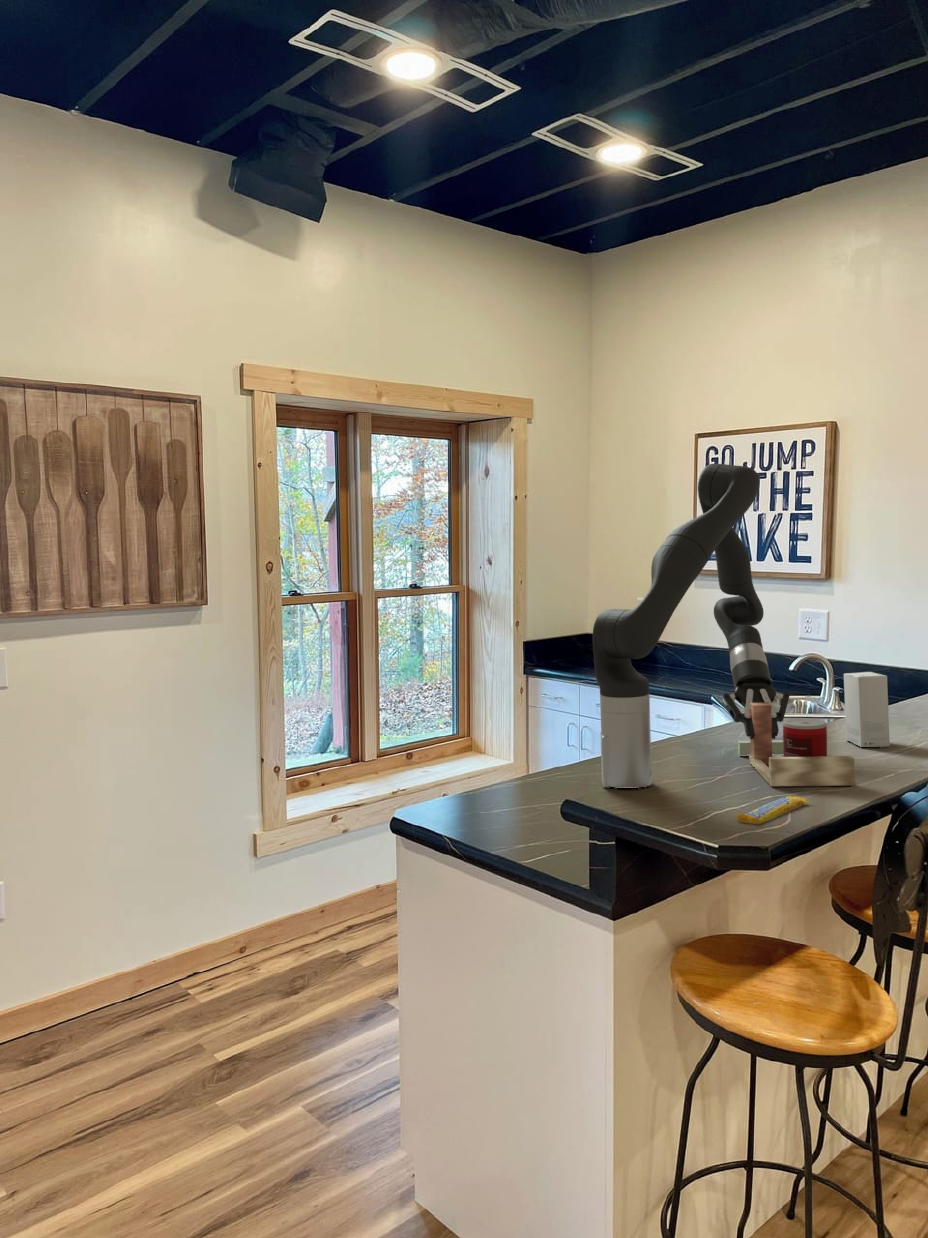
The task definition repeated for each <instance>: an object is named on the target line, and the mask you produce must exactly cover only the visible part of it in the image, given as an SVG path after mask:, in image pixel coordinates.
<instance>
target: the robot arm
mask: <svg viewBox="0 0 928 1238" xmlns="http://www.w3.org/2000/svg"><path fill="white" fill-rule="evenodd" d="M759 476H760V475H759V474H758V473H757V471H756V470H755V469H753V468H751V467H748V466H743V465H736V464H735V465H734V464H733V465H732V464H726V463H725V464H724V463H710V464H708V465H706V466H705V467H704V468H703V469H702V471H701V472H700V475H699V477H698V482H697V494H698V500H699V505H700V507H701V511H702V514H701V515H698V516H697V517H694V518H692V519H690V520H689V521H686V522H685V523H683V524H681V525H680V526H678V527H677V528H675V529H674V530H672V531H671V532H670V533H669V535H668V536H667V537H666V538H665V540H664V541H663V543H662V544H661V545H660V546H659V548H658V549H657V551H656V552H655V554H654V555H653V558H652V560H651V561H652V562H651V570H650V571H651V585H650V588H649V590H648V592H647V593H646V595H645V596H644V597H643V598H642V600H641V601H640V602H639V604H637V605H636V607H634V608H633V609H626V608H625V609H622V608H617V609H616V608H610V609H605V610H603V611H602V612H600V613H599V614H598V616H597V617H596V619H595V621H594V624H593V627H592V628H593V629H592V651H593V664H594V675H595V679H596V682H597V684H598V688H599V698H600V699H599V702H600V703H599V704H600V708H599V709H600V730H601V731H600V756H601V757H600V758H601V759H600V760H601V761H600V762H601V783H602V787H603V788H607V787H606V786H613V787H633V788H634V787H636V788H637V787H644V788H647V786H648V787H649V786H651V785H652V783H653V782H652V775H653V771H652V745H651V744H652V743H651V742H652V740H651V739H652V738H651V737H652V736H651V706H650V705H651V704H650V703H651V701H650V699H651V697H650V683H649V680H648V678H647V677H646V676H645V675H642V674H641V673H640V672H638V671H637V670H636V668H635V667H634V666H633V665H632V660H639V659H640V660H641V659H643V658H646V656H648V655H650V653H651V652H652V651H654V649H655V647H656V645H657V644H658V642H659V640H660V639H661V637H662V635H663V632H664V631H665V629H666V627H667V625H668V624H669V621H670V619H671V618H672V616H673V614H674V612H675V611H676V608H677V607H678V605H679V604H680V602H682V600H683V597H685V594H686V593H687V592H688V590H689V589H690V587H691V586H692V584H693V583H694V582H695V580H696V579H697V577H699V575H700V574H701V572H702V570H704V568H705V566H706V565H707V564H708V561H709V560H710V559H711V557H712V556H713V554H714V555H715V562H716V569H717V570H716V571H717V578H718V585H719V589H720V591H721V592H722V593H724V594H726V595H728V596H729V595H730V597H723V598H720V599H718V600H717V601H716V602H715V604H714V607H713V616H714V620H715V621H716V623H717V625H718V627H719V628H720V630H721V631H722V634H723V635H724V638H725V639H726V642H727V646H728V652H729V653H728V654H729V658H730V659H729V664H730V671H731V672H730V673H731V676H732V682H733V686H734V691H733V693H731V694H729V693H726V692H725V693H723V696H722V701H721V702H722V704H723V706H724V708H725V709H726V711H727V713H728V714H729V715H730V717H731V719H732V720H733V721H734V723H742V724H743V726H744V727H743V728H744V732H745V736H746V737H747V738H749V740H750V739H754V736H755V731H754V727H753V722H752V719H751V718H750V717H751V711H750V703H763V702H767V703H769V704H770V705H771V714H772V740H776V737H778V735H779V731H780V730H779V725H778V724H779V723H778V722H780V723H782V722H783V721H784V719H785V714H786V711H787V708H788V703H789V699H790V696H791V694H790V693H789V692H786V691H785V692H784V693H779V692H777V691H776V689H775V687H773V684H772V678H771V673H770V669H769V664H768V661H767V656H766V654H765V651H764V647H763V643H762V638H761V634H760V632H759V630H758V629H757V628H756V627H754V626H757V625H758V624H760V623H761V621H762V620H763V618H764V614H765V613H764V607H763V605H762V602H761V600H760V598H759V595H758V594H757V591H756V590H755V586H754V582H753V578H752V577H753V576H752V565H751V557H750V554H749V552H748V549H747V548H746V545H745V544H744V542H743V541H742V539H741V538H740V537H739V535H738V534H737V532H736V530H735V529H734V527H735V525H736V524H737V523H738V522H739V521H740V519H742V518H743V516H744V515H745V513H747V512H748V510H749V509H750V508H751V506H752V504H753V503H754V502H755V499H756V497H757V495H758V492H759V488H760V477H759ZM775 699H776V701H777V704H778V705H779V710H778V712H775V711H776V710H775V709H774V705H773V702H774V700H775ZM735 702H738V704H740V706H742V707H743V713H742V712H741V711H740V709H739V707H738V706H737V704H736V703H735Z"/></svg>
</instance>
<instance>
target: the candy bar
mask: <svg viewBox="0 0 928 1238" xmlns="http://www.w3.org/2000/svg"><path fill="white" fill-rule="evenodd" d="M809 801H810V800H809V799H808V798H807V797H802V796H793V795H787V796H786V797H781V798H779V799H776V800H773V801H770V802H769V803H766V804H763V805H762V806H760V807H757V808H755V809H753V810H751V811H749V812H746V813H741V812H739V813H738V816H737V818H736V819H737V821H739V822H740V823H745V824H750V825H751V824H752V825H757V826H759V825H761V824H764V823H765V822H768V821H770V820H773V819H775V818H778V817H780V816H782V815H785V814H787V813H789V812H792V811H794V810H796V809H798V808H800V807H802V806H803V805H804V804H807V803H809Z"/></svg>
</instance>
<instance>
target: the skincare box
mask: <svg viewBox="0 0 928 1238" xmlns="http://www.w3.org/2000/svg"><path fill="white" fill-rule="evenodd" d="M843 688H844V690H843V691H844V692H843V693H844V710H845V711H844V713H845V736H846V738H847V739H848V740H850V741H851V742H853V743H855V744H856V745H858V746H860V747H859V748H861V747H880V748H889V747H890V746H891V744H890V743H891V742H890V720H889V719H890V718H889V717H890V716H889V695H888V693H889V692H888V689H889V688H888V675H884V674H881V673H878V672H877V673H876V672H873V671H863V672H861V671H860V672H850V673H849V672H848V673H847V672H845V673H843ZM846 738H845V739H846ZM856 745H855V746H856ZM858 746H857V747H858Z"/></svg>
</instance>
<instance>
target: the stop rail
mask: <svg viewBox="0 0 928 1238" xmlns="http://www.w3.org/2000/svg"><path fill="white" fill-rule="evenodd" d="M738 754H739V755H747V754H751V745H750V740H737V755H738ZM772 754H783V739H782V740H781V739H777V740H776V739H772ZM739 755H738V756H739Z"/></svg>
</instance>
